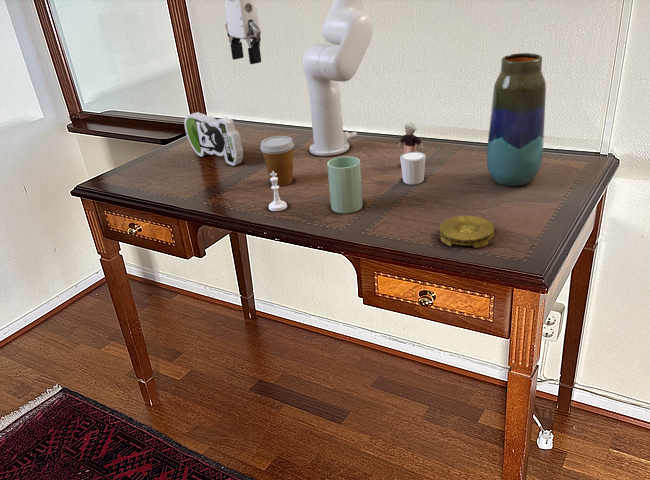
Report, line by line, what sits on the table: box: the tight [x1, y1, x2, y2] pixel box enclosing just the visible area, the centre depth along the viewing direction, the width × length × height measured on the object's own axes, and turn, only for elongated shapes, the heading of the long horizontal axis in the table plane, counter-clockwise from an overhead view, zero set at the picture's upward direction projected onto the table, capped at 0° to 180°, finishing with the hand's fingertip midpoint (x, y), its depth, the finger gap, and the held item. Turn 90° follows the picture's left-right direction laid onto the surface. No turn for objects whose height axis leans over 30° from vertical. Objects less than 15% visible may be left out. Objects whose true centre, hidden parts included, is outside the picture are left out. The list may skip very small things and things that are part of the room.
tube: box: [326, 155, 364, 214], centre depth 160 cm, size 8×8×12 cm
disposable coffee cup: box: [259, 135, 295, 187], centre depth 178 cm, size 10×10×12 cm
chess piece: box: [268, 171, 288, 212], centre depth 164 cm, size 5×5×10 cm
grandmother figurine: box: [398, 121, 424, 154], centre depth 179 cm, size 8×4×13 cm, turn 68°
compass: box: [439, 215, 495, 249], centre depth 143 cm, size 12×12×2 cm
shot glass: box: [399, 151, 427, 185], centre depth 171 cm, size 7×7×7 cm
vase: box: [486, 52, 547, 187], centre depth 159 cm, size 14×14×31 cm
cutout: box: [183, 111, 244, 166], centre depth 199 cm, size 15×3×25 cm
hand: (246, 60), depth 168 cm, fingers open, 9 cm apart
